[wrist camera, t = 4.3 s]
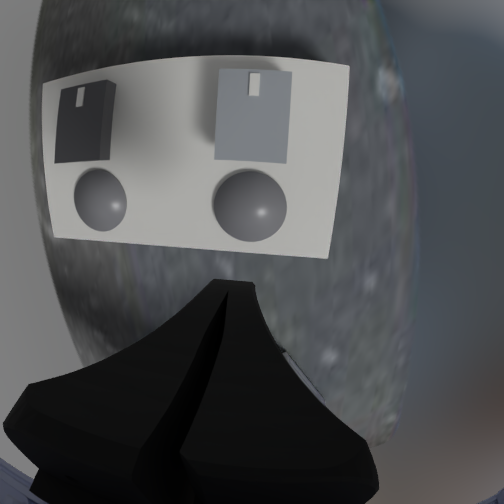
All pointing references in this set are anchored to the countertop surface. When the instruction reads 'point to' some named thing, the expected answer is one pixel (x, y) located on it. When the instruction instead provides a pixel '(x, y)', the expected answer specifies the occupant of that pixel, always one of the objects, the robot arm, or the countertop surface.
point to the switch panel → (201, 162)
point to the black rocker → (85, 122)
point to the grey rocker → (253, 115)
